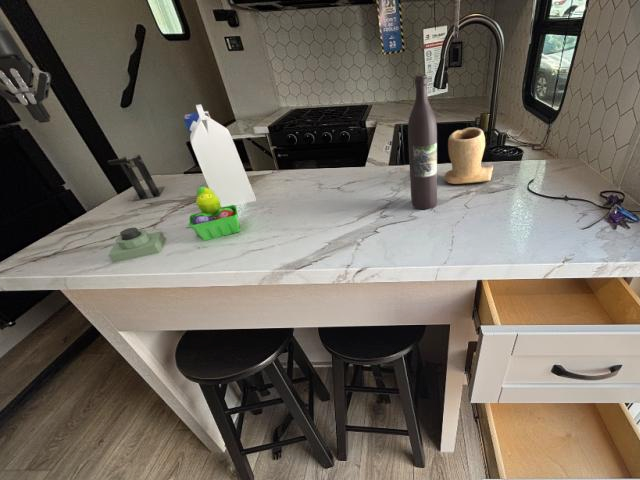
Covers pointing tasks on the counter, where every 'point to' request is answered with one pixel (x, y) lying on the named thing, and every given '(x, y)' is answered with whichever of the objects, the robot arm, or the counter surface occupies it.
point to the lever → (123, 162)
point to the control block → (137, 246)
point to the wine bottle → (422, 149)
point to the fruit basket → (213, 216)
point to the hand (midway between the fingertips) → (44, 121)
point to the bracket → (152, 190)
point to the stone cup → (467, 157)
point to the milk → (220, 161)
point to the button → (130, 233)
